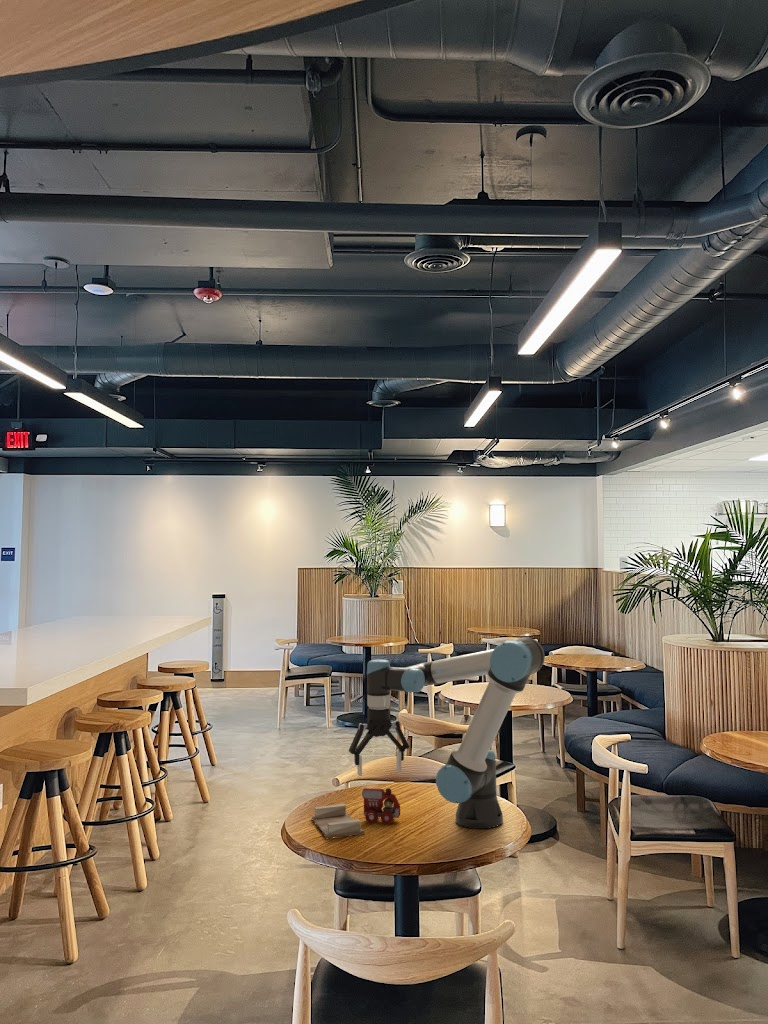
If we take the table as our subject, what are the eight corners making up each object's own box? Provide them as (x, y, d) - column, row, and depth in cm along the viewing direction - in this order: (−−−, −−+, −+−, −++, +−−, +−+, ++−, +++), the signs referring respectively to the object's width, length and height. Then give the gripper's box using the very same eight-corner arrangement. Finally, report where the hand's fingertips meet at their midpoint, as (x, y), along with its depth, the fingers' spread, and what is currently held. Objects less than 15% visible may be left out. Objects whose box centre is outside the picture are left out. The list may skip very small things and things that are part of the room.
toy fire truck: (398, 825, 245) (397, 792, 246) (360, 824, 248) (359, 791, 248) (401, 818, 252) (401, 785, 253) (365, 817, 254) (364, 785, 255)
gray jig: (364, 834, 238) (363, 821, 238) (326, 839, 234) (326, 826, 234) (346, 815, 256) (346, 802, 257) (311, 819, 253) (311, 807, 253)
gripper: (410, 702, 260) (411, 766, 259) (339, 708, 252) (339, 773, 251) (418, 706, 253) (419, 772, 252) (345, 712, 245) (346, 779, 244)
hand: (379, 773), depth 251 cm, fingers open, 13 cm apart
